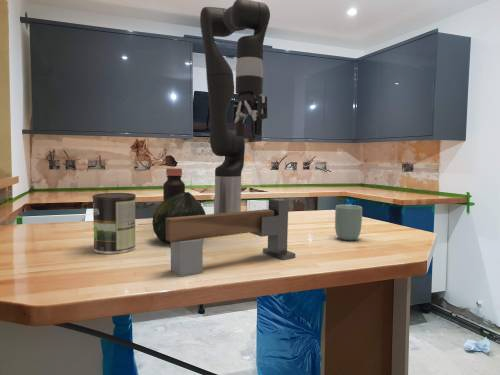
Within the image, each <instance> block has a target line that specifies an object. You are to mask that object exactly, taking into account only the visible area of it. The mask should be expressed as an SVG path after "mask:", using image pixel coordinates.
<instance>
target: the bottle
mask: <svg viewBox="0 0 500 375" xmlns="http://www.w3.org/2000/svg"><path fill="white" fill-rule="evenodd" d="M165 171H166V172H165V175H166V178H167V179H166V181H165V182H164V183H163V186H162V188H163V193H162V194H163V196H162V197H163V201H164V200H166V199H168V198H170V197H173V196H175V195H177V194H180V193H183V192H186V184H185V183H184V181H183V180H182V176H183V169H182V168H179V167H173V168H172V167H171V168H169V167H167V168H165ZM163 201H162V202H163Z"/></svg>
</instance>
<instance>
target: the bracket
mask: <svg viewBox="0 0 500 375" xmlns="http://www.w3.org/2000/svg"><path fill="white" fill-rule="evenodd" d="M268 210H272V211H274V216H267V217H260V231H258V232H250V233H249V234H253V235H255V236H258V237H262V238H263V237H267V247H263V248H262V253H264V254H267V255H270V256H272V257H274V258H277V259H279V260H282V261H283V260H290V259H294V258H296V253H295V252H293V251H290V250H288V232H289V230H288V228H289V227H288V226H289V199H285V198H280V197H279V198H278V197H277V198H268Z"/></svg>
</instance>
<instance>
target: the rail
mask: <svg viewBox="0 0 500 375" xmlns="http://www.w3.org/2000/svg"><path fill="white" fill-rule="evenodd" d="M267 216H274V211H272V210H269V209H267V208H266V209H256V210H244V211H242V210H241V212H230V213H219V214H214V213H209V214H208V213H206V215H196V216H185V217H173V218H166V240H167V241H169V242H170V244H171V243H172V242H180V241H188V240H196V239H202V240H203V239H211V238H219V237H224V236H225V237H226V236H234V235H242V234H248V233H249V234H251V233H250V232H258V231H260V217H267Z"/></svg>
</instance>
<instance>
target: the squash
mask: <svg viewBox="0 0 500 375" xmlns="http://www.w3.org/2000/svg"><path fill="white" fill-rule="evenodd" d="M196 215H207V213H206V211H205V209H204V207H203V206H202V204H201V203H200V202H199V201H198V200H197V199H196V197H194V195H193V194H191V192H189V191H185V192H183V193H180V194H177V195H175V196H173V197H170V198H168V199H166V200H164V201H162V202H161V203H159V205H158V206H157V207H156V209H155V211H154V212H153V215H152V228H153V232H154V234H155V235H156V237H157V238H158V239H159V240H160V241H161V242H165V243H166V242H167V243H168V242H169V241H167V240H166V218H173V217H185V216H196Z"/></svg>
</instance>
